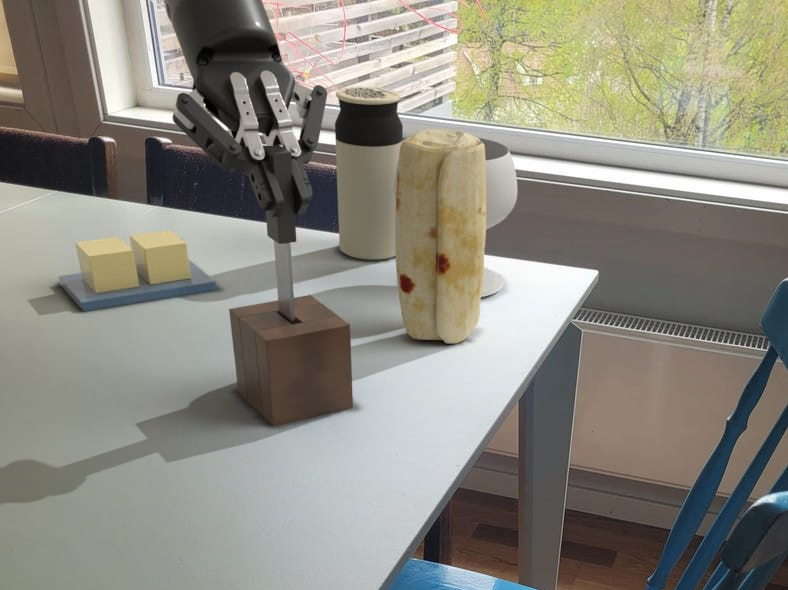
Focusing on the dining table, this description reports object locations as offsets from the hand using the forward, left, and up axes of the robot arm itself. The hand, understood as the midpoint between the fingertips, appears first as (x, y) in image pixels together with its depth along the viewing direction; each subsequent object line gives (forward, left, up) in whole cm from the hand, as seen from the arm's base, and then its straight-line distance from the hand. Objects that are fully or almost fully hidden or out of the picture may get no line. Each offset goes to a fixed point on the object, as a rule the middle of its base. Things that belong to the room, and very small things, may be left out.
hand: (290, 209), depth 81 cm
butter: (-21, +30, -18) cm, 40 cm away
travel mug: (+5, +45, -18) cm, 48 cm away
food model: (+13, +18, -18) cm, 28 cm away
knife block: (-1, +2, -18) cm, 18 cm away
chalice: (+15, +34, -18) cm, 41 cm away
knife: (-1, +2, -13) cm, 13 cm away
